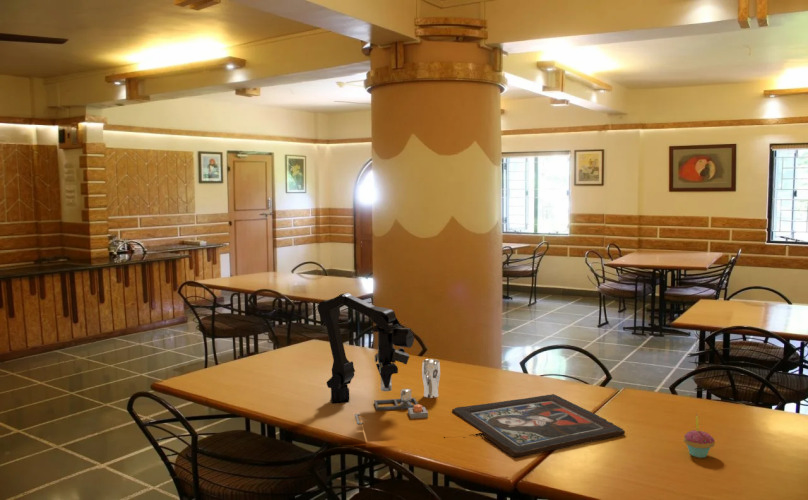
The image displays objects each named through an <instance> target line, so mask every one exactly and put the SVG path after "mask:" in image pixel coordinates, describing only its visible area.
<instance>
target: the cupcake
mask: <svg viewBox="0 0 808 500" xmlns="http://www.w3.org/2000/svg"><path fill="white" fill-rule="evenodd" d="M695 414H696V416H695V429H694V430H690V431H687V432H686V433H685V434H684V435H683V436H684V438H683V442H684V443H685V444H686V446H687V449H688V452H689V455H691V456H692V457H695V458H703V459H704V458H706V457H707V456H708V454H709V451H710V449H711V448H714V447H715V445H716V441H715V438H714V437H713V436H712V435H711V434H709V433H708V432H705V431H702V430H699V416H698V413H695Z"/></svg>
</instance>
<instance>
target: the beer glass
mask: <svg viewBox="0 0 808 500" xmlns="http://www.w3.org/2000/svg"><path fill="white" fill-rule="evenodd" d="M421 376H422V378H421V379H422V382H423V388H424V389H423V396H424V398H427V399H434V398H438V397H439V396H440V395H439V383H440V379H441V365H440V360H439V359H436V358H426V359H423V360H422V366H421Z"/></svg>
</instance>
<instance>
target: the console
mask: <svg viewBox="0 0 808 500" xmlns="http://www.w3.org/2000/svg"><path fill="white" fill-rule="evenodd" d="M407 414H408V416H409V417H410V419H411V420H413V419H424V418H425V419H426V418H429V412H428V409H427V408H426V407H425V406H422V412H414V408H408V409H407Z"/></svg>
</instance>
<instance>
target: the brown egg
mask: <svg viewBox="0 0 808 500" xmlns="http://www.w3.org/2000/svg"><path fill="white" fill-rule="evenodd" d="M413 405H414V412H422V407H423V405H422V404H419V403H418V404H417V405H415V404H413Z"/></svg>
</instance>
